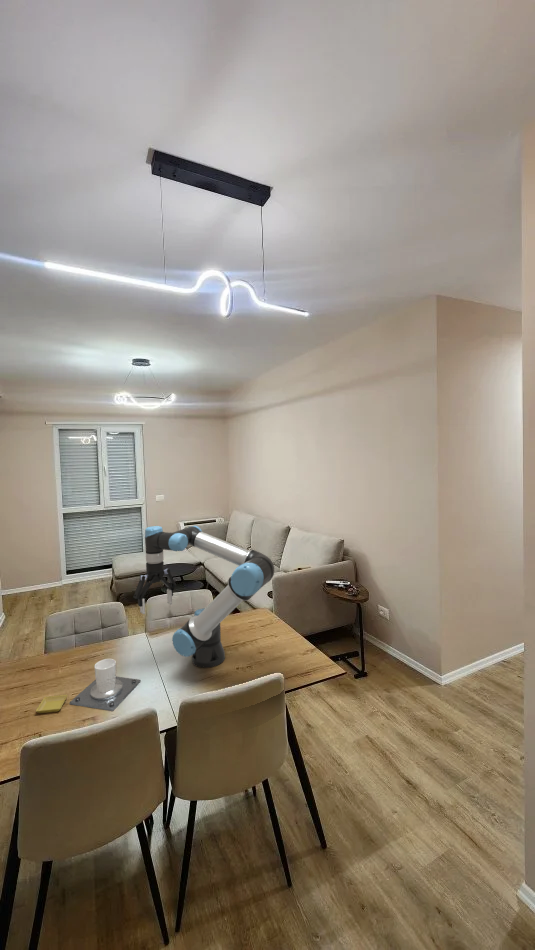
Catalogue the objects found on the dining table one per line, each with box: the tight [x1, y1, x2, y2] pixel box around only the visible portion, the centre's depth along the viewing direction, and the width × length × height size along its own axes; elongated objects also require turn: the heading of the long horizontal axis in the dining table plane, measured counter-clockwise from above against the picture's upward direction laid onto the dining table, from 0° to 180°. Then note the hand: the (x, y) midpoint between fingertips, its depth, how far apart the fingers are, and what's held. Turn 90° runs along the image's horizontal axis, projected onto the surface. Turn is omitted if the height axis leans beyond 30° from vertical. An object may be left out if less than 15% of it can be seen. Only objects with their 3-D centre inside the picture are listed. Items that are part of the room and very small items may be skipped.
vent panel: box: [69, 676, 142, 712], centre depth 158 cm, size 19×19×2 cm
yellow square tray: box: [35, 694, 68, 714], centre depth 150 cm, size 9×9×2 cm
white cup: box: [94, 658, 117, 693], centre depth 157 cm, size 8×8×10 cm
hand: (156, 608), depth 175 cm, fingers open, 13 cm apart
